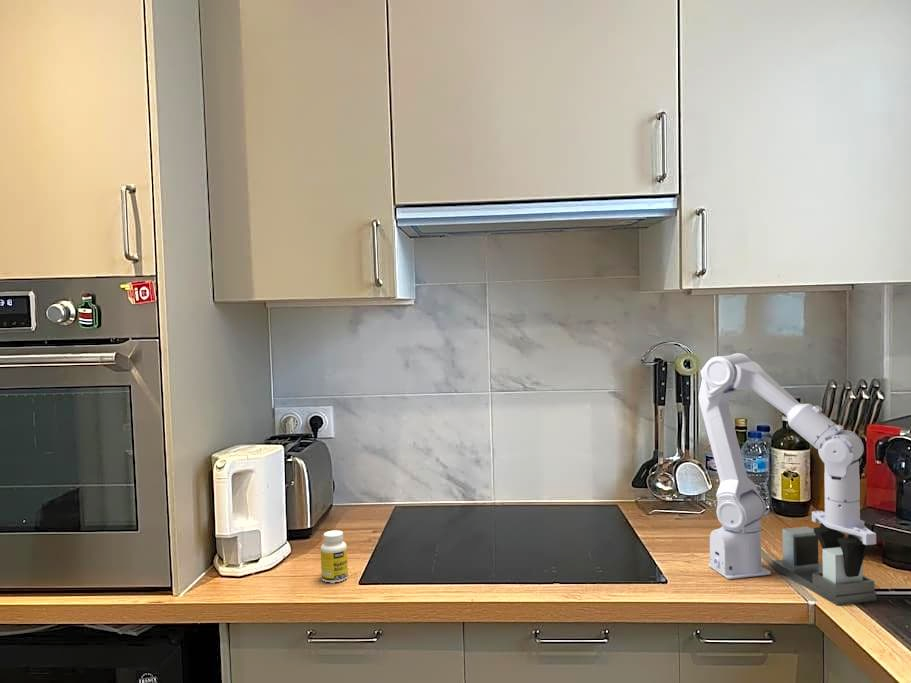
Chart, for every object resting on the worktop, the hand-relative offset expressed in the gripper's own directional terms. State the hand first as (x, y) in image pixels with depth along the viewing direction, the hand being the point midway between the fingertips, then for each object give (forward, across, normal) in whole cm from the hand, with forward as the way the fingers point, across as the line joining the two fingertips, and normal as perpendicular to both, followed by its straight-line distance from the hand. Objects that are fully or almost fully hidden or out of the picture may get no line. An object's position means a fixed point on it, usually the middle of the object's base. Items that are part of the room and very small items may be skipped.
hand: (842, 570), depth 133 cm
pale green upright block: (+3, 0, 0) cm, 3 cm away
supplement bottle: (+5, +34, +92) cm, 99 cm away
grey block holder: (+5, +6, 0) cm, 8 cm away
